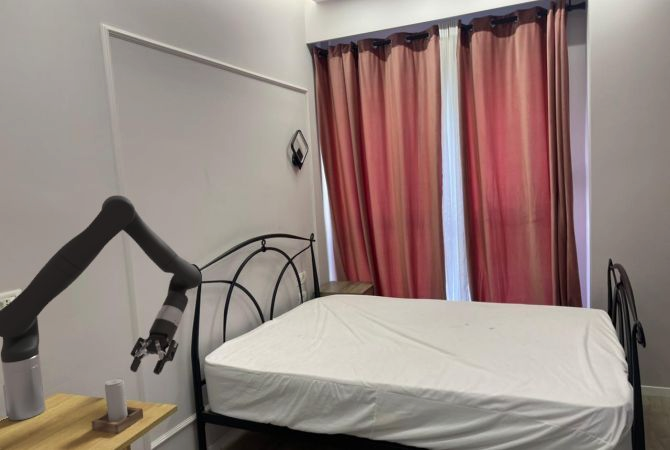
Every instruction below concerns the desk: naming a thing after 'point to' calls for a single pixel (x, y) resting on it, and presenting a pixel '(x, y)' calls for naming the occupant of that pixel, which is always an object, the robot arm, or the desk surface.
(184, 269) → the robot arm
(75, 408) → the desk surface
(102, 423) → the collar
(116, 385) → the beverage can
